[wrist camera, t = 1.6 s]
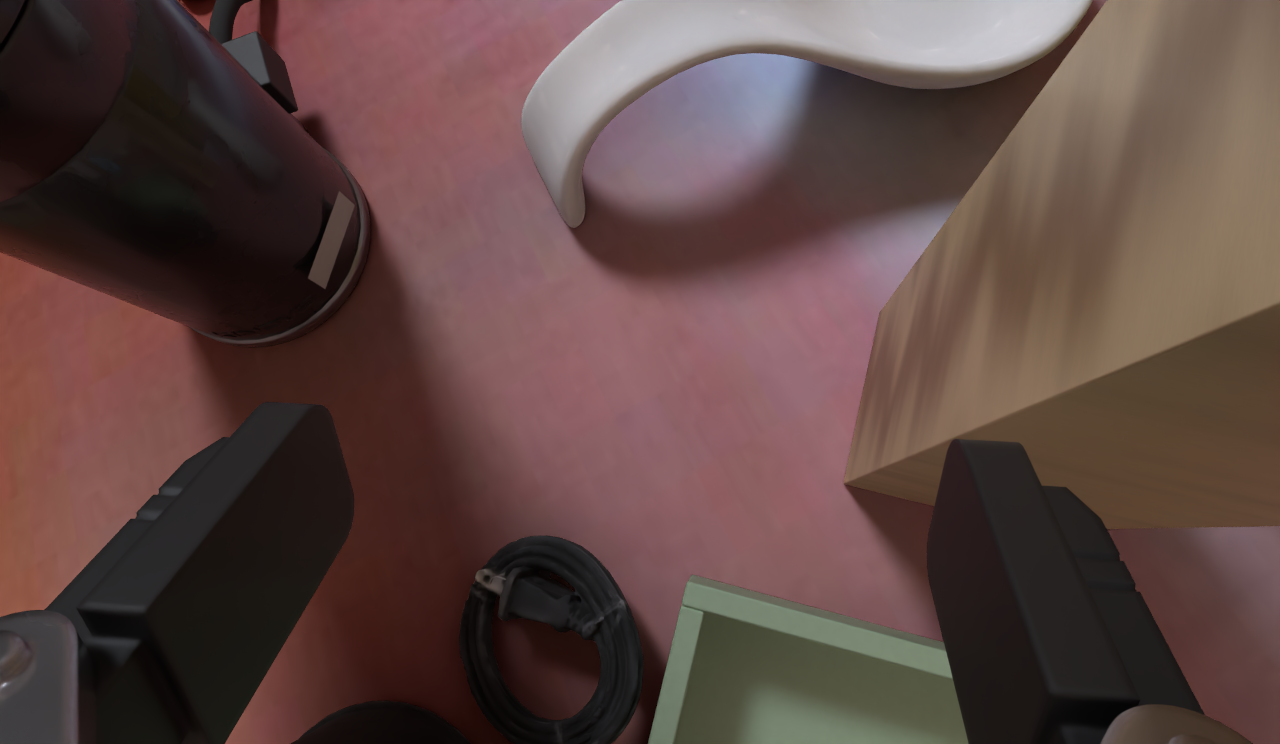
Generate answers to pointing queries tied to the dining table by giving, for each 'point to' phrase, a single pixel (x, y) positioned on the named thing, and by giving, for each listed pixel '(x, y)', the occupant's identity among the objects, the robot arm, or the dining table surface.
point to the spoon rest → (772, 24)
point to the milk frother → (520, 574)
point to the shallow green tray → (798, 676)
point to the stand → (1108, 284)
